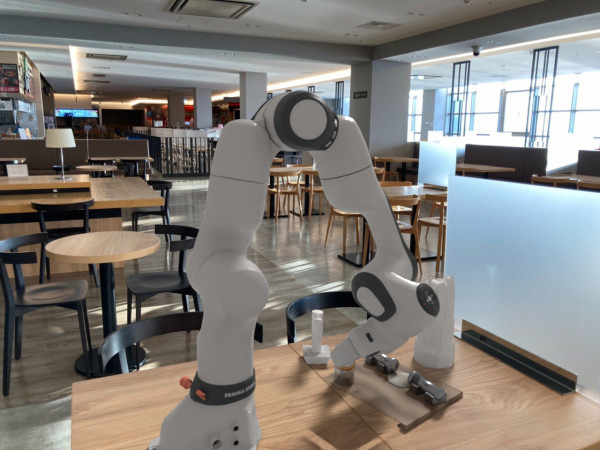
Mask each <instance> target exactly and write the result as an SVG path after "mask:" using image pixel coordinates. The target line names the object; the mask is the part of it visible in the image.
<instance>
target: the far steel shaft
mask: <svg viewBox="0 0 600 450" xmlns="http://www.w3.org/2000/svg"><path fill="white" fill-rule="evenodd" d="M364 360H365V363H367V364H368V365H370V366H373V365H376V364H377V371H379V372H380V373H382V374H385V373H395V372H396V371H397V370H398V368H399V363H400V361H399V360H398V359H397V358H394V357H389V356H388V355H387V354H381V355H374V356H370V357H368V358H364Z"/></svg>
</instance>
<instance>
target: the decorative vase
mask: <svg viewBox="0 0 600 450" xmlns="http://www.w3.org/2000/svg"><path fill="white" fill-rule="evenodd" d="M424 283H426V284H428V285H429V286H430V287H432V289H433V290H434V291H435V293H436V294H437V296H438V299H439V303H440V310H439V314H438V316H437V318H436V319H435V320H434V321H433V322H432V323H431V324H430V325H429V326H428V327H427V328H426V329H424V330H423V331H422V332H420V333H419V334H418V335H416V337H415V339H414V344H413V347H414V348H413V359H414V361H415V362H416V363H417V364H419V365H421V366H423V367H425V368H430V369H437V370H441V369H442V370H443V369H448V368H451V367H452V366H453V365H454V364H455V356H456V355H455V354H456V344H455V339H454V333H455V316H454V312H455V298H456V286H455V285H456V284H455V277H454V276H453V275H450V276H449V275H444V276H443V278H441V277H440V278H438V277H437V278H435V279H433V277H430V278H428V279H425V282H424Z"/></svg>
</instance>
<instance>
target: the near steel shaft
mask: <svg viewBox="0 0 600 450" xmlns="http://www.w3.org/2000/svg"><path fill="white" fill-rule="evenodd" d="M417 371H418V370H416V371H412V372H411V373H410V374H409V375H408V378H407V383H408V385H410V390H409V391H410V392H411V393H413V394H414V395H416V396H418V395H421V394H424V393H425V402H427V403H428V404H430V405H431V406H435V405H437V404H440V403H443V402H445V401H446V397H447V392H445V390H443V389H442V388H440V387H438V386H437V385H435V384H433V383H431V382H430V381H428V380H426V379H425V378H423V377H421V374H420V373H419V372H420V371H419V372H417Z"/></svg>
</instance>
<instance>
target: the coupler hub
mask: <svg viewBox="0 0 600 450" xmlns="http://www.w3.org/2000/svg"><path fill="white" fill-rule="evenodd" d="M339 343H340V342H339ZM339 343H336V344H335V346H334V348H335V347H336V346H337V345H338V344H339ZM355 364H356V361H354V362H351V363H349V364H346V365H344V366H342V367H340V368H337V367H336V366H335V365H334V371H333V373H334V382H335V383H336V384H338V385H341V386H350V385H352V384H354V379H355Z"/></svg>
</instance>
